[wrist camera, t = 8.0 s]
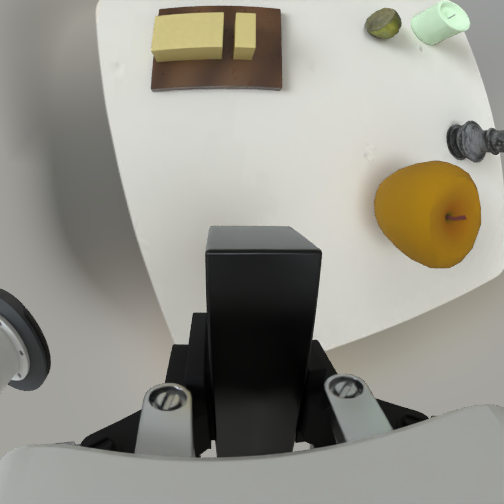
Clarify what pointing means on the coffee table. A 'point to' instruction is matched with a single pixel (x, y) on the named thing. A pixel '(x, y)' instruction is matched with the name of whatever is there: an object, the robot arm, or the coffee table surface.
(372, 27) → the lime
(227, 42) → the butter board
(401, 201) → the apple
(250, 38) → the butter slice
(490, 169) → the coffee table surface
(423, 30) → the candle
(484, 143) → the black chess piece
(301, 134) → the coffee table surface
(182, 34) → the butter block
